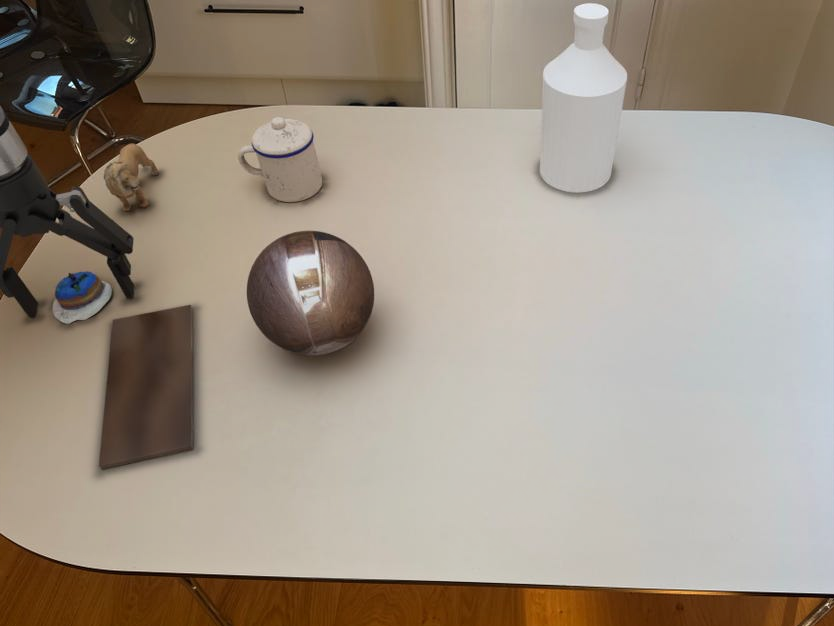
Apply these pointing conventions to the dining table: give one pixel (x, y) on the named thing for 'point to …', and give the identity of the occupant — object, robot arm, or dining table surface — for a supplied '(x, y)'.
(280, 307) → the wooden sphere
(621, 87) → the bottle
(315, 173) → the teacup with lid
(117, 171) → the lion figurine
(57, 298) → the dessert
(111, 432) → the walnut board
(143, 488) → the dining table surface
